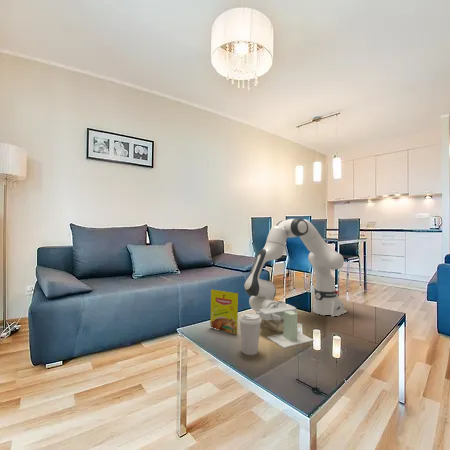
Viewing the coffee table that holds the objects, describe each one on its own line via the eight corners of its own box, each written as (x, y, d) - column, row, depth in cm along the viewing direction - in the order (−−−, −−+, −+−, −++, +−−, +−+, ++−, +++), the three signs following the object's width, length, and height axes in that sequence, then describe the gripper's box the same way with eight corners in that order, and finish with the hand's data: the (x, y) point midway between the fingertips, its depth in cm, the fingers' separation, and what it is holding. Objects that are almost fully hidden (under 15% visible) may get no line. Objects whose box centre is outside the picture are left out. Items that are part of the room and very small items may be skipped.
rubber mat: (295, 331, 132) (295, 330, 132) (313, 340, 122) (313, 339, 122) (266, 337, 124) (266, 336, 124) (283, 348, 113) (283, 347, 113)
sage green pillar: (289, 335, 126) (290, 310, 126) (297, 339, 122) (297, 313, 122) (283, 337, 124) (283, 311, 124) (290, 341, 120) (291, 314, 120)
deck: (280, 321, 147) (280, 314, 147) (295, 328, 136) (296, 321, 136) (263, 324, 141) (263, 317, 141) (277, 332, 131) (277, 324, 131)
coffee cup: (234, 348, 112) (235, 313, 113) (253, 344, 116) (254, 311, 116) (244, 358, 104) (245, 320, 104) (265, 354, 107) (266, 317, 108)
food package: (209, 328, 134) (210, 289, 134) (210, 327, 135) (211, 289, 135) (236, 334, 127) (237, 293, 127) (237, 334, 128) (238, 293, 128)
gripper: (254, 305, 132) (271, 313, 119) (285, 301, 141) (304, 308, 129) (254, 318, 131) (271, 327, 119) (285, 312, 141) (304, 320, 129)
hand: (288, 317), depth 124 cm, fingers open, 8 cm apart
